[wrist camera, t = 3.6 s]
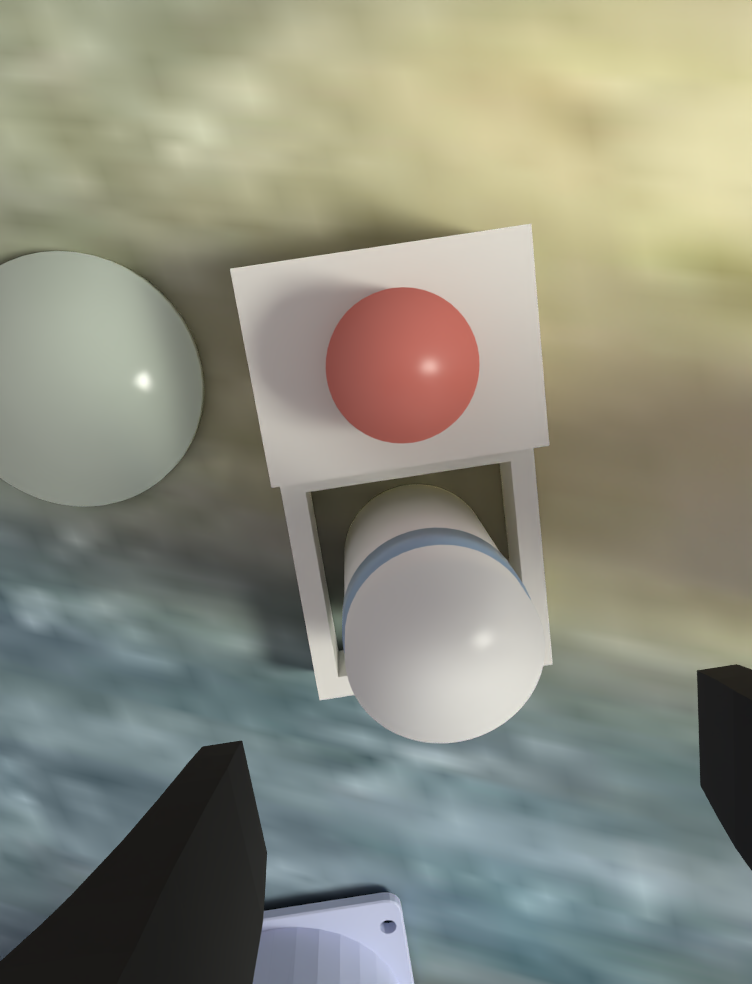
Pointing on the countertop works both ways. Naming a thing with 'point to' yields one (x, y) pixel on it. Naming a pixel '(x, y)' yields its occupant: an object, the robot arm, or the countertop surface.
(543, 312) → the countertop surface
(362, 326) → the plunger
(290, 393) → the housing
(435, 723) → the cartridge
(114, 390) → the pale green dome
